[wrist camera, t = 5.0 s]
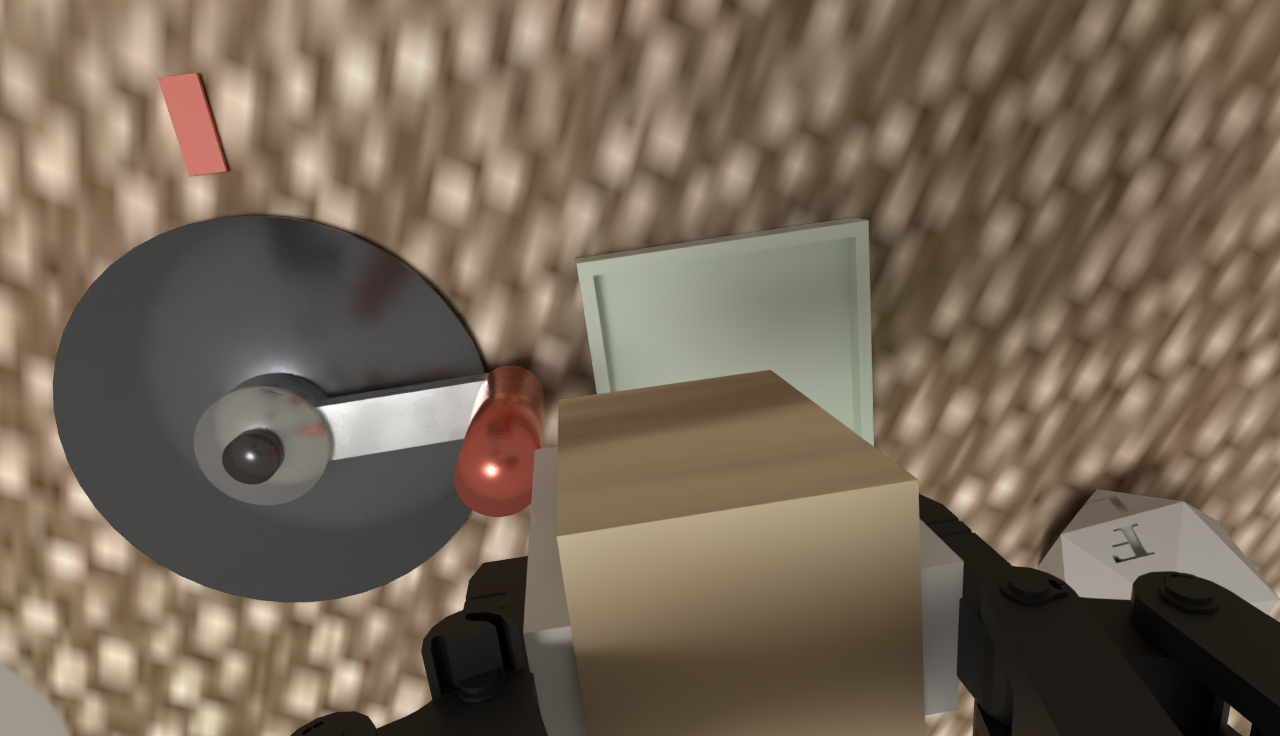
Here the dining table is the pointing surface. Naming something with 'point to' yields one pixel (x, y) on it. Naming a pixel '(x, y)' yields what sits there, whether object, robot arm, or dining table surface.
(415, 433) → the crank
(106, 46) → the dining table surface
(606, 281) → the tray
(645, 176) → the dining table surface
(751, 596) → the block
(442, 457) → the base plate
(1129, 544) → the die
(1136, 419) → the dining table surface
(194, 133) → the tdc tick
